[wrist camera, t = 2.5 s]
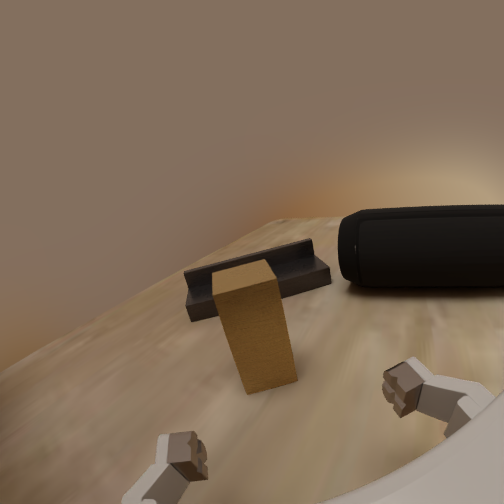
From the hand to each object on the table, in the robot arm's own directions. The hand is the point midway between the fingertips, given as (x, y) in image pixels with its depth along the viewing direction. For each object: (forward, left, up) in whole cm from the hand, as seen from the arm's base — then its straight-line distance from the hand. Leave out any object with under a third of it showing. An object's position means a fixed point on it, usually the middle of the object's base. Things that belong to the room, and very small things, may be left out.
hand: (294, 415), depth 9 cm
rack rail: (+2, +29, -8) cm, 31 cm away
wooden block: (0, +12, -8) cm, 15 cm away
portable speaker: (+24, +16, -9) cm, 30 cm away
